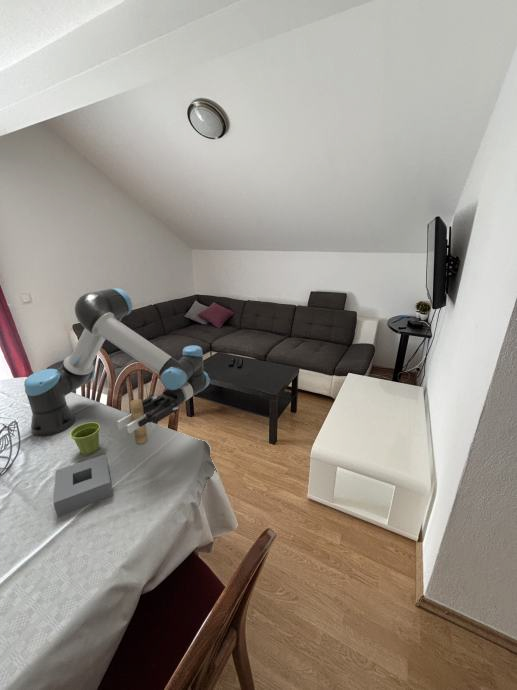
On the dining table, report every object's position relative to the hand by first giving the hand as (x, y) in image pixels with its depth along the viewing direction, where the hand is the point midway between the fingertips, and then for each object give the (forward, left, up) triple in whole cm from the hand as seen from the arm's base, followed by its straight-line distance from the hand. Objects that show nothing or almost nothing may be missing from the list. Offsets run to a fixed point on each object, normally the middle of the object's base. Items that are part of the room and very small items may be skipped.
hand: (123, 427), depth 86 cm
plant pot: (-23, -11, -20) cm, 32 cm away
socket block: (-3, -13, -19) cm, 24 cm away
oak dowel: (-3, +5, -9) cm, 11 cm away
